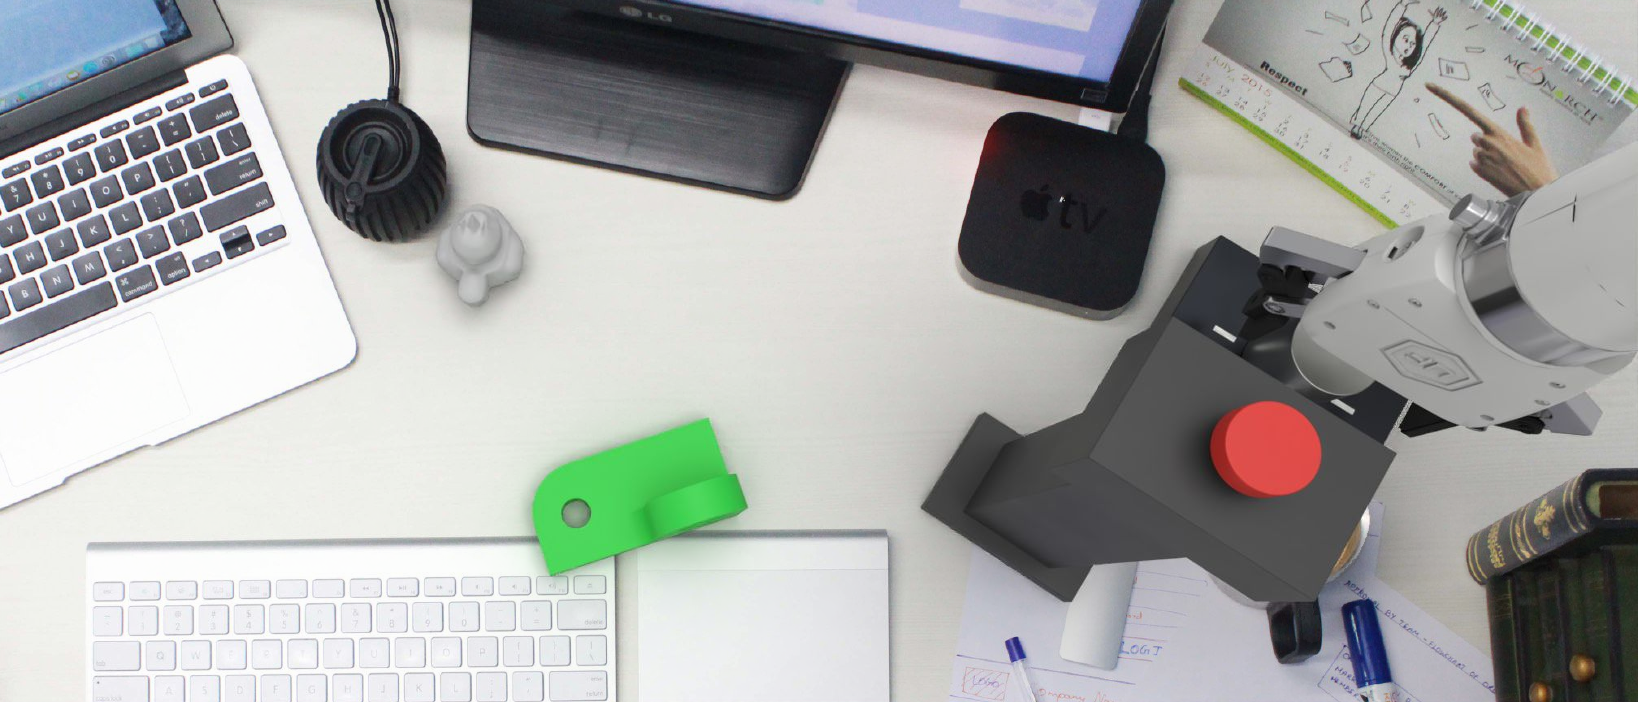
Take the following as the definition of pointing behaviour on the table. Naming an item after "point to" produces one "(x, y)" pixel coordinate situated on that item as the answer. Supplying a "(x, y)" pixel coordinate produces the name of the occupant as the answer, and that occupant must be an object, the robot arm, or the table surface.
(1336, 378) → the dial
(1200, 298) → the dial panel
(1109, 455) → the button stand
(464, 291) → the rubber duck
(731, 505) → the mechanical part
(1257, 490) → the button
